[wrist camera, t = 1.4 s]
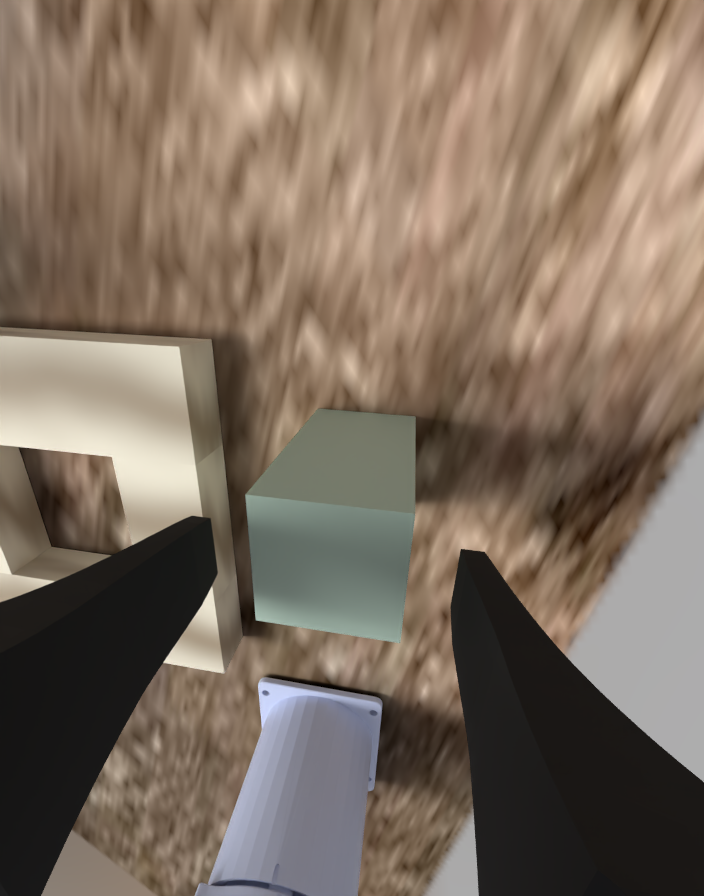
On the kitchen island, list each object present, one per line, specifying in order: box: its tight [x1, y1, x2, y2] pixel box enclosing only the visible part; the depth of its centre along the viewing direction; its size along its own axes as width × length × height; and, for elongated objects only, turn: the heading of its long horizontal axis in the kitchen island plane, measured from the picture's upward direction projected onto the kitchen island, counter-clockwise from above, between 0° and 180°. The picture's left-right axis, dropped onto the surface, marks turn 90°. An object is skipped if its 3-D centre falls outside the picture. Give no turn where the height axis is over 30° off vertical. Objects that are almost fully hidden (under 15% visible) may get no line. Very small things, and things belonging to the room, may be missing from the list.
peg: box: [245, 409, 416, 643], centre depth 14 cm, size 4×4×8 cm
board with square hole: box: [0, 327, 243, 673], centre depth 20 cm, size 18×16×2 cm
